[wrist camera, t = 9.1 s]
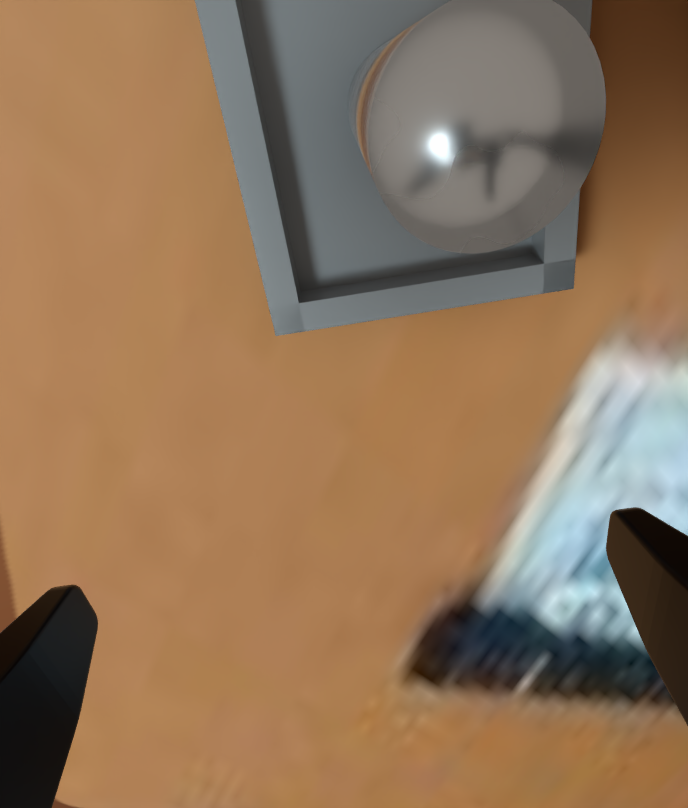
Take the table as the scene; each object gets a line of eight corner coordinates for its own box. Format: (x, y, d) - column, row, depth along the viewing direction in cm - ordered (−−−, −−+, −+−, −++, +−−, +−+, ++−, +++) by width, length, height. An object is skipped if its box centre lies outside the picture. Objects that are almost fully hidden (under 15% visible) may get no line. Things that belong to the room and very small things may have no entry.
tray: (571, -202, 13) (608, -245, 12) (551, 270, 19) (573, 288, 18) (179, -120, 14) (158, -150, 12) (280, 314, 20) (275, 335, 18)
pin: (452, 29, 15) (617, -38, 6) (458, 154, 17) (595, 233, 8) (339, 52, 15) (351, 16, 7) (356, 172, 17) (383, 270, 8)
